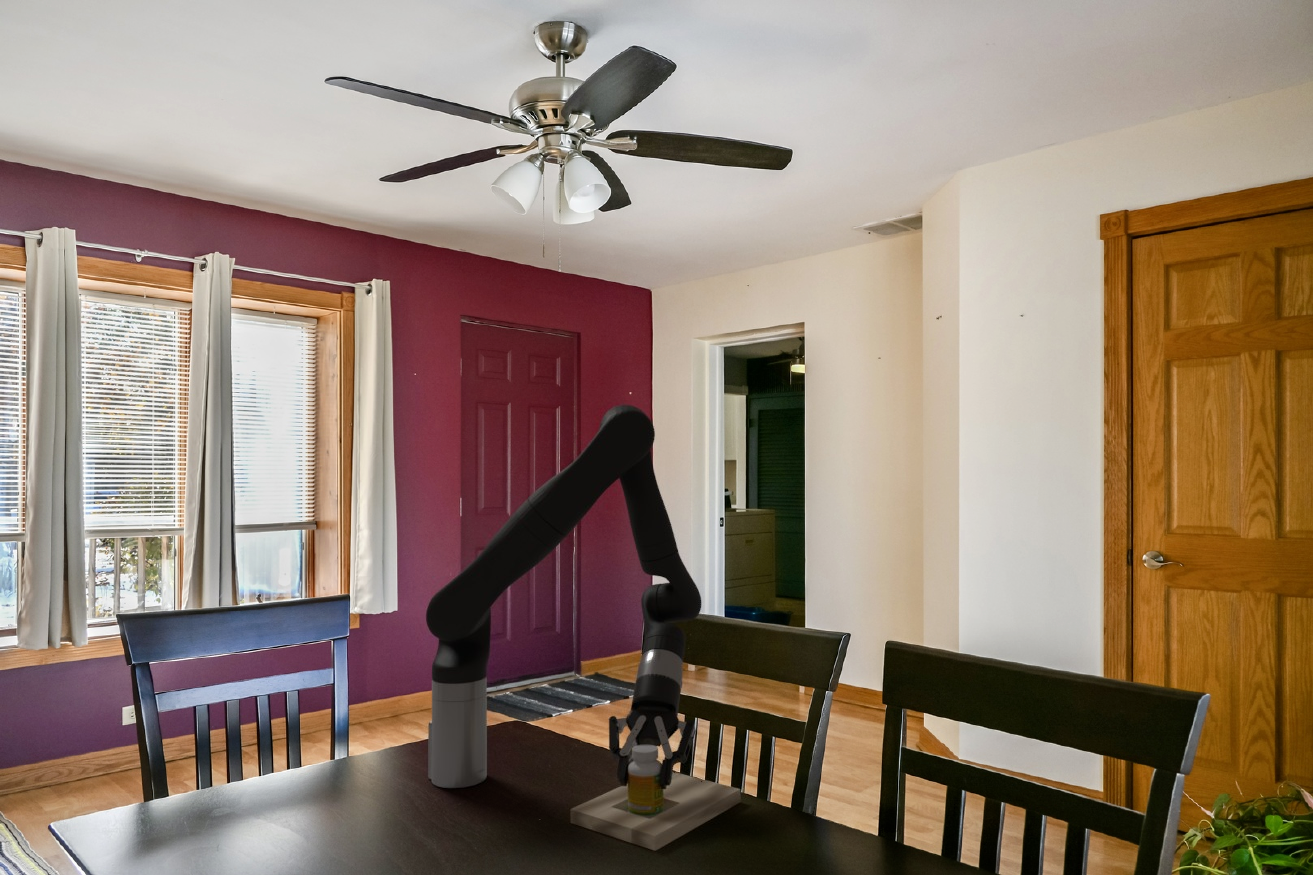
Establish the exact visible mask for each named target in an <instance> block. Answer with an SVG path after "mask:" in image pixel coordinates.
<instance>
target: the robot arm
mask: <svg viewBox="0 0 1313 875" xmlns="http://www.w3.org/2000/svg"><path fill="white" fill-rule="evenodd" d="M655 436H656V432H655V426H654V424H653V422H652V420H651V419H650V417H649V416H648V415H647V414H646V413H645V412H644V411H643V410H642V409H640V408H639V407H636V406H634V405H630V404H619V405H615V406H614V407H612V408H609V410H607V411H606V413H605V414H604V415H603V417H602V419H601V421H600V423H599V428H598V432H596V434H595V436H594V437H593V438H592V440H591V441H590V442H589V443H588V444H587V446H586V447H585V448H584V449H583V450H582V452H581V453H580V454H579V455H578V456H577V457H576V458H575V459H574V460H573V462H571V463H570V464H569V465H568V466H566V467H565V468H564V469H563V470H560V472H558V473H557V474H555V475H554V476H553V477H551V478H550V479H549V480H547V481H546V482H545V483H544V484H542V485H541V486H540V487H539V488H538V489H536V490H535V491H534V492H533V493H531V495H530V496H529V497H528V498H527V499H526V500H525V501H524V502H523V503H522V504H521V505H520V506H519V507H518V508H517V509H516V510H515V512H514V513H513V514H512V515H511V516H510V517H509V518H508V519H507V521H505V523H504V524H503V525H502V526H501V528H499V530H498V531H497V532H496V534H495V535H494V536H493V537H492V538H491V540H490V541H489V542H488V543H487V544H486V546H485V547H484V548H483V550H482V551H481V552H480V553H479V554H478V556H476V558H475V559H474V560H472V562H471V563H469V565H467V566H466V567H465V568H464V569H463V570H462V571H461V572H459V574H458V575H456V576H455V577H454V578H453V579H452V580H450V581H449V582H448V583H446V585H445V586H443V587H442V588H441V589H440V590H438V591H437V592H436V593H435V594H434V595H433V596H432V597H431V599H430V601H429V603H428V606H427V608H426V613H425V620H426V626H427V628H428V630H429V632H430V633H431V635H433V637H435V638H437V639H438V644H437V651H436V654H435V657H434V660H433V661H432V664H431V721H429V722H428V727H427V728H428V737H427V738H428V741H427V744H428V750H427V752H428V755H427V757H428V758H427V760H428V761H427V762H428V765H427V767H428V768H427V770H428V771H427V773H428V774H427V776H428V777H427V779H430V780H431V783H432V784H433V785H434V786H436V787H439V788H445V789H458V788H459V789H461V788H467V787H471V786H476V785H477V784H480V783H482V782H485V780H486V779H487V776H488V775H487V772H488V771H487V770H488V769H487V768H488V766H487V765H488V764H487V762H488V761H487V760H488V758H487V756H488V751H487V750H488V749H487V748H488V746H487V745H488V744H487V743H488V740H487V738H488V736H487V735H488V734H487V733H488V732H487V731H488V727H487V725H488V723H487V721H488V720H487V719H488V716H487V715H488V710H487V709H488V706H487V705H488V702H487V700H488V699H487V698H488V694H487V691H488V689H487V687H488V686H487V685H488V684H487V683H488V681H487V680H488V679H487V677H488V672H487V671H488V664H489V663H488V662H489V658H490V654H491V635H492V634H491V633H492V632H491V630H492V628H491V627H492V608H491V607H492V606H493V605H494V604H495V602H496V601H497V600H498V598H500V597H501V596H502V594H503V593H504V592H505V591H506V590H508V588H509V587H511V585H512V584H514V583H515V582H517V581H518V580H519V579H521V578H522V577H523V576H524V575H526V574H527V573H529V572H530V571H532V570H533V568H535V567H536V566H537V565H538V564H539V563H540V562H542V561H543V560H544V559H545V558H546V557H548V556H549V555H550V554H551V553H552V552H553V551H554V550H555V549H556V548H557V547H558V546H559V545H560V544H561V542H562V541H564V539H565V538H566V537H567V536H568V535H569V534H570V533H571V532H572V531H573V530H574V529H575V527H576V526H577V525H578V524H579V523H580V522H581V520H582V519H583V518H584V517H585V516H586V515H587V514H588V512H589V511H590V510H591V509H592V507H593V506H595V504H596V502H597V501H598V500H599V499H600V497H601V496H602V495H603V494H604V493H605V492H606V491H607V490H608V489H609V488H611V486H612V485H614V483H615V482H616V481H617V480H618V479H619V482H620V485H621V488H622V491H623V492H622V493H623V496H624V500H625V504H626V509H627V514H628V520H629V523H630V528H631V534H632V538H633V541H634V545H635V549H636V553H637V556H638V560H639V563H640V568H641V570H642V572H644V573H645V574H646V575H649V576H655V577H659V578H664V579H666V581H668V582H663V583H656V584H652V585H649V586H648V587H647V588H646V589H645V590H644V592H643V593H642V595H641V600H640V601H641V602H640V604H641V606H640V607H641V610H642V617H643V618H642V619H643V625H644V640H643V646H642V653H641V658H640V661H639V665H638V667H637V668H638V669H637V672H636V677H635V679H636V680H635V683H634V687H633V688H634V689H633V695H632V700H631V707H630V711H629V713H628V714H627V715H626V716H625V717H622V718H621V717H620V718H617V717H616V716H615V715H611V716H610V717H609V718H608V749H609V752H610V754H611V756H612V759H614V760H616V759H617V760H618V764H617V769H616V770H617V771H616V777H617V781H618V782H619V783H620V785H621V786H627V783H628V765H629V763H630V762H631V761H632V748H633V747H634V746H636V745H642V744H649V745H654V746H656V747H662V751H663V755H664V759H662V762H661V763H662V768H661V775H660V787H661V789H666V787H667V785H668V786H669V785H670V784H671V780H672V772H674V771H673V770H674V766H675V765H676V764H679V763H681V764H685V763H686V762H687V760H688V757H689V755H690V754H689V753H690V750H691V747H692V744H693V741H694V739H695V736H696V732H697V731H696V727H695V722H694V721H693V720H691V719H689V720H687V721H683V720H680V719H679V717H678V714H679V708H680V698H681V692H682V689H683V688H682V687H683V674H684V672H683V668H684V665H683V664H684V658H685V649H686V641H687V640H686V635H685V632H684V630H683V629H681V627H679V626H676V625H675V624H671V623H680V622H682V623H683V622H688V621H689V622H690V621H693V620H695V619H696V618H698V616H699V614H700V613H701V610H702V597H701V593H700V591H699V587H698V586H697V584H696V583H695V580H694V579H693V578H692V576H691V574H690V573H689V571H688V569H687V567H686V566H685V563H684V562H683V559H682V557H681V556H680V553H679V552H680V551H679V550H678V544H677V541H676V537H675V533H674V531H673V527H672V523H671V520H670V516H669V514H668V511H667V508H666V506H665V502H664V500H663V497H662V494H661V490H660V487H659V485H658V481H657V477H656V473H655V469H654V465H653V459H652V458H653V456H652V447H653V445H654V442H655ZM626 727H627V728H628V729H629V731H630V732H629V734H628V735H627V737H626V739H625V743H624V744H623V746H622V747H620V734H622V733H624V729H625V728H626ZM678 730H679V732H680V737H681V738H680V740H679V744H678V746H677V750H675V751H672V748H671V745H670V744H671V743H670V740H669V739H670V738H671V737H672V736H674V734H675V733H676V732H677V731H678ZM621 786H620V787H621Z"/></svg>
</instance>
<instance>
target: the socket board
mask: <svg viewBox="0 0 1313 875" xmlns="http://www.w3.org/2000/svg"><path fill="white" fill-rule="evenodd" d="M674 772H675V771H673V772H672V780H671V784H670V785H669V786H668V785H667V787H666V789H663V806H664V807H663V812H662V813H660V814H658V815H656V816H654V817H652V818H651V819H649V818H646V817H642V816H639V815H636V814H632V813H629V812H628V782H627V786H619V787H616V788H614V789H612V790H609V791H608V792H606V793H603V794H602V795H599V796H596V797H595V798H594V797H593V798H592V799H590V800H588V801H586V802H583V803H581V804H578V805H576V806H574V807H572V808H571V809H570V824H573V825H576V826H579V827H582V828H585V829H588V830H590V831H594V832H596V833H600V834H603V835H606V836H608V837H613V838H615V839H618V840H620V841H625V842H627V843H630V844H632V845H637V846H639V847H642V848H646V849H649V850H651V851H658V850H660V849H661V848H663V847H665V846H666V845H668V844H670V843H671V842H674V841H675V840H676V839H679V838H680V837H682V836H684V835H686V834H688V833H689V832H691V831H693V830H694V829H696V828H698V827H699V826H701V825H703V824H705V823H707V822H708V821H711V819H714V818H715V817H717V816H718V815H721V814H722V813H725V812H726V811H727V810H729V809H731V808H733V807H734V806H736V805H738V804H740V803H741V798H742V797H741V789H740V788H738V787H734V786H730V785H726V784H722V783H717V782H716V781H715V782H713V781H711V780H707V779H703V778H699V777H695V776H690V775H686V774H683V773H680V772H675V773H674ZM701 781H702V782H701Z"/></svg>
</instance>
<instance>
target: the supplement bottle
mask: <svg viewBox="0 0 1313 875" xmlns="http://www.w3.org/2000/svg"><path fill="white" fill-rule="evenodd" d="M658 759H659V748H658V746H654V745H649V744H642V745H636V746H634V747H633V748H632V758H631V760H630V763H629V765H628V781H627V783H628V812H629V813H632V814H636V815H639V816H642V817H646V818H649V819H651V818H652V817H654V816H656V815H658V814H660V813H662V812H664V811H663V807H664V806H663V789H661V787H660V775H661V768H662V762H661V761H660V760H658Z"/></svg>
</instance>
